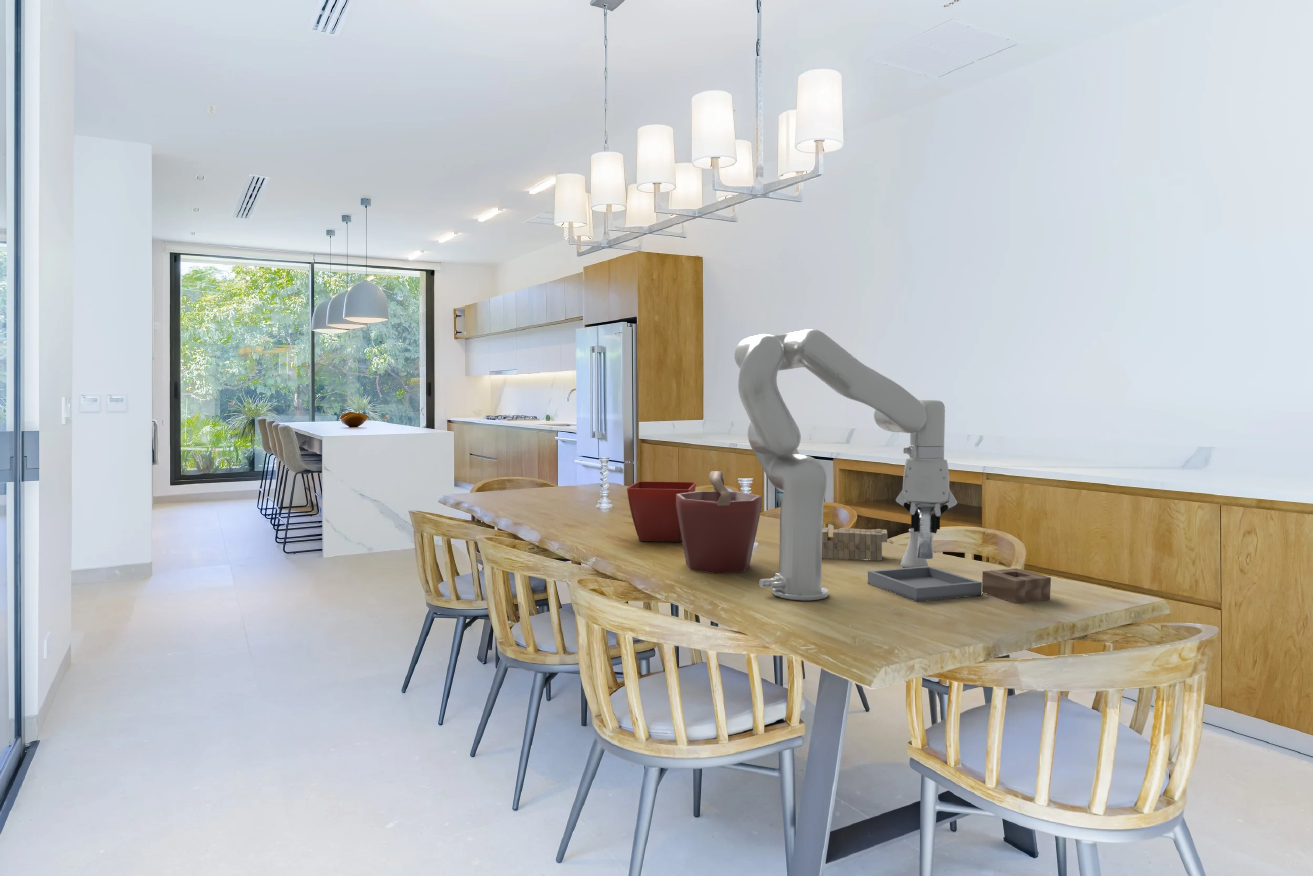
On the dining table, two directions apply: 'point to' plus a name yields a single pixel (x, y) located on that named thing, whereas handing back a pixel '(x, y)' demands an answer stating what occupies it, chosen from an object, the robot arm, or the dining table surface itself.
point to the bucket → (718, 527)
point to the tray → (924, 583)
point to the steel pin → (925, 530)
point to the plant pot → (657, 509)
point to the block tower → (853, 543)
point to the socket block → (1016, 585)
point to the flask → (912, 553)
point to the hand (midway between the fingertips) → (925, 531)
